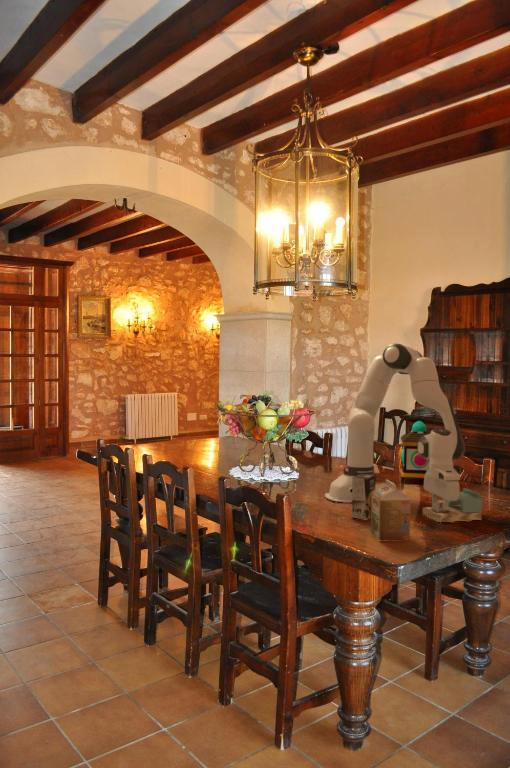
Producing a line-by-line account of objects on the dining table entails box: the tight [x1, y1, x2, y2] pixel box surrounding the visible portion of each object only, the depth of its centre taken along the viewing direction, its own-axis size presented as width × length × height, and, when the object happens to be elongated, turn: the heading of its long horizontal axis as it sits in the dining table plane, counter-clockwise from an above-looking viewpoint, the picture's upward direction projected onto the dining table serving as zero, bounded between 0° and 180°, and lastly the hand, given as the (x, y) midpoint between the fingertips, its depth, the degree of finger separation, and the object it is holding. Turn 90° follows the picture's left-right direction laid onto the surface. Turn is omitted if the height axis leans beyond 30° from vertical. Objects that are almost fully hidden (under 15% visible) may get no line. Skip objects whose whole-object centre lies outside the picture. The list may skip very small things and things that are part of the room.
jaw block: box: [431, 499, 447, 513], centre depth 234 cm, size 4×4×6 cm
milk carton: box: [370, 479, 411, 540], centre depth 211 cm, size 10×11×19 cm
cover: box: [448, 488, 483, 513], centre depth 236 cm, size 8×12×6 cm, turn 13°
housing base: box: [422, 505, 483, 524], centre depth 235 cm, size 18×12×3 cm, turn 103°
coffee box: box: [351, 474, 377, 521], centre depth 235 cm, size 9×6×16 cm
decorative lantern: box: [397, 420, 430, 485], centre depth 301 cm, size 20×20×30 cm
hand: (440, 507), depth 234 cm, fingers open, 5 cm apart
